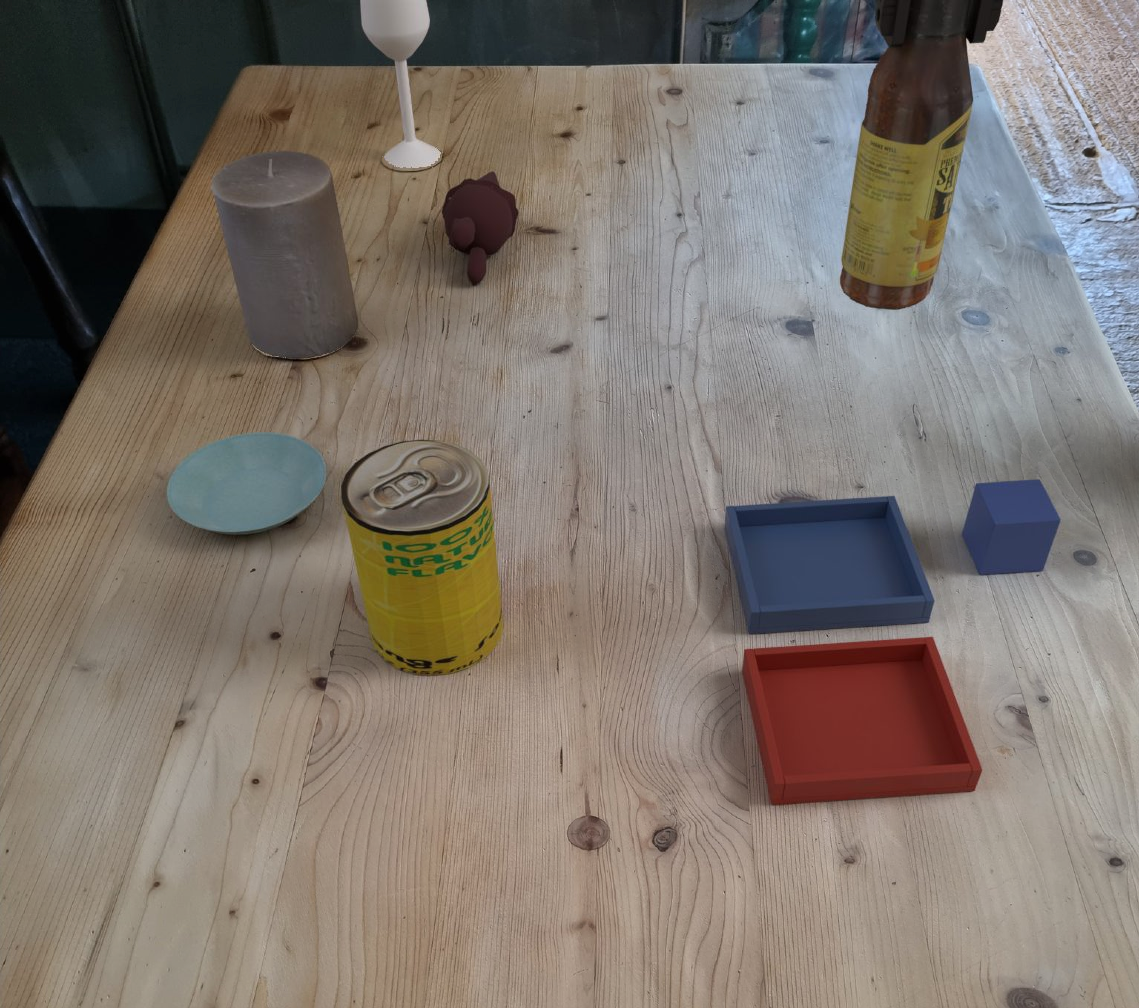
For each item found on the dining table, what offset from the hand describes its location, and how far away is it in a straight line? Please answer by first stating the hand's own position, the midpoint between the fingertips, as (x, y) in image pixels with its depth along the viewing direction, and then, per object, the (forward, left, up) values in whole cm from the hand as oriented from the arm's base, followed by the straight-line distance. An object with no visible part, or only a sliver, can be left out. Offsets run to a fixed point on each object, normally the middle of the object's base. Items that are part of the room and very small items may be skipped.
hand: (933, 38), depth 69 cm
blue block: (-8, +10, -30) cm, 33 cm away
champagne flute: (+35, -59, -30) cm, 75 cm away
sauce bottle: (0, 0, -15) cm, 15 cm away
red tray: (+6, +25, -30) cm, 40 cm away
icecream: (+28, -38, -30) cm, 56 cm away
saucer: (+46, -1, -30) cm, 55 cm away
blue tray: (+5, +11, -30) cm, 32 cm away
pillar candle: (+44, -25, -30) cm, 59 cm away
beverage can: (+32, +14, -30) cm, 46 cm away
